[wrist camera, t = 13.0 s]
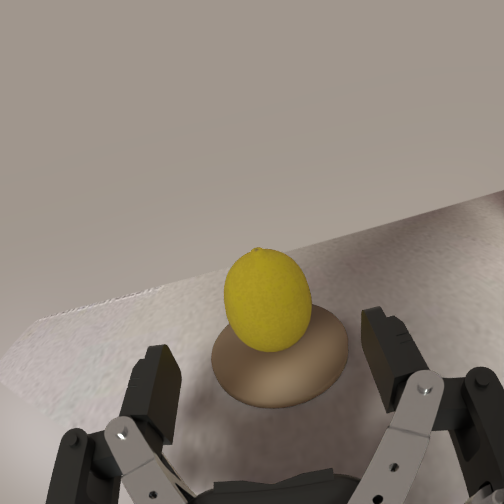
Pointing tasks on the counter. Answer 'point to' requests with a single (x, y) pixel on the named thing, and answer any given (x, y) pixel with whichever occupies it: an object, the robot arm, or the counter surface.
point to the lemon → (267, 300)
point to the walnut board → (283, 364)
